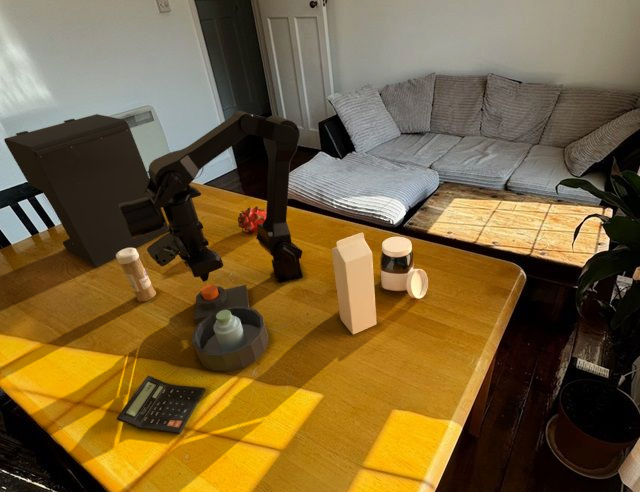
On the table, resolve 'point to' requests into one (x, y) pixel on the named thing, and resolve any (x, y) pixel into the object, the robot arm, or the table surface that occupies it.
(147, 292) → the sprinkles bottle
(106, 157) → the dark brown slanted box
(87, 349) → the table surface
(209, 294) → the stop button
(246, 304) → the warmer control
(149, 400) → the calculator
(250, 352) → the bottle warmer
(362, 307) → the milk
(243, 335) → the bottle
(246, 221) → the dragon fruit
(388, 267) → the spread jar
